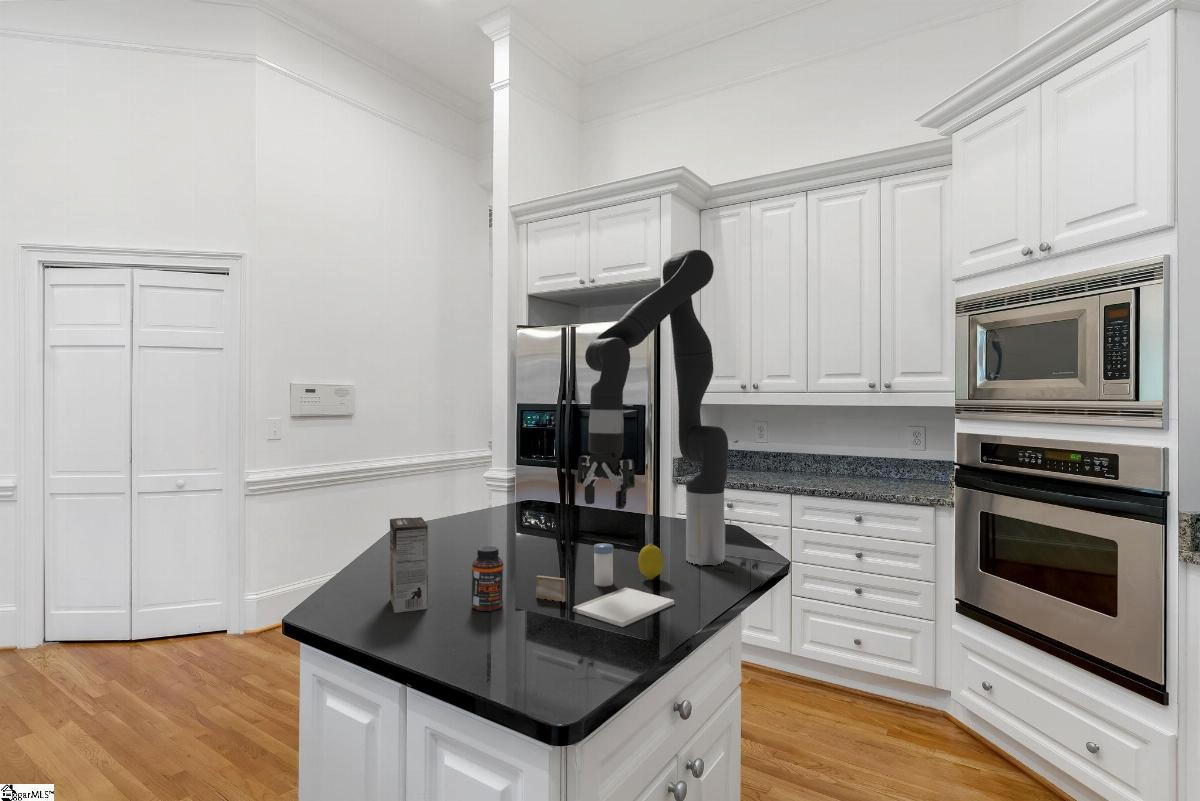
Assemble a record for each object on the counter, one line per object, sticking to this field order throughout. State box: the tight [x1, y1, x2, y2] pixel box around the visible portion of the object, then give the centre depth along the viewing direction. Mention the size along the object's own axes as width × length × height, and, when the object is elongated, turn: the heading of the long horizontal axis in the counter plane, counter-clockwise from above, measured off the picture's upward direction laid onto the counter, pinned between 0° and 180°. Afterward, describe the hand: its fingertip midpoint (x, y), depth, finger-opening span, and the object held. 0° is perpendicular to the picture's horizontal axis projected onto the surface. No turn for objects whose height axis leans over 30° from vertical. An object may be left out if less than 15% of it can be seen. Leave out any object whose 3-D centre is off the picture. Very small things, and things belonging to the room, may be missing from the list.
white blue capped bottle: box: [593, 542, 614, 587], centre depth 134 cm, size 4×4×8 cm
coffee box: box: [389, 516, 429, 614], centre depth 121 cm, size 9×6×16 cm
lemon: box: [637, 543, 664, 581], centre depth 137 cm, size 6×6×8 cm
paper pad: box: [572, 587, 675, 628], centre depth 119 cm, size 16×12×1 cm
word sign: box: [535, 575, 566, 603], centre depth 123 cm, size 1×6×4 cm, turn 69°
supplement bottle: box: [471, 545, 504, 612], centre depth 119 cm, size 6×6×11 cm
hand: (604, 506), depth 134 cm, fingers open, 8 cm apart
